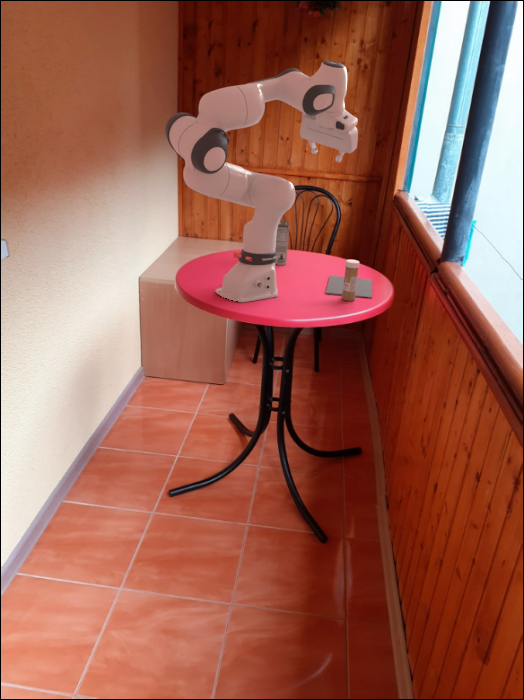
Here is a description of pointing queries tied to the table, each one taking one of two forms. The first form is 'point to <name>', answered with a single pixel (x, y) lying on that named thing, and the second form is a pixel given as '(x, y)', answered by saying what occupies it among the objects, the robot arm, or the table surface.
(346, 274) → the sprinkles bottle
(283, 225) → the coffee box
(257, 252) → the robot arm
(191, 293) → the table surface
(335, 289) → the mat
